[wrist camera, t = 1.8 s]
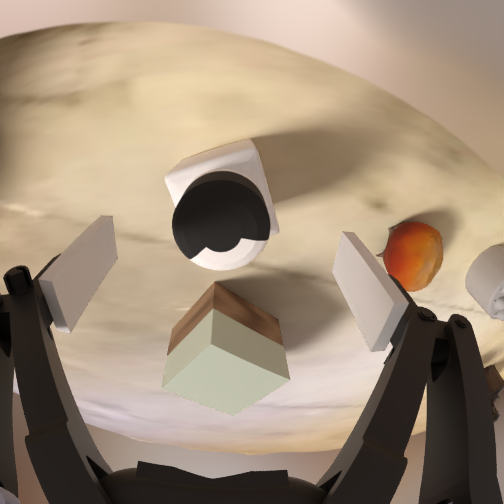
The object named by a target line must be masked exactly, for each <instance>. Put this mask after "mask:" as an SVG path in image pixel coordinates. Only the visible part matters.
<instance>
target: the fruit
mask: <svg viewBox="0 0 504 504" xmlns="http://www.w3.org/2000/svg"><path fill="white" fill-rule="evenodd" d="M388 229H389V228H388ZM378 257H383V261H384V264H385V267H386V269H387V272H388V274H390V275H392V276H393V277H394V278H396V279H397V280H398V281H399V282H400V283H401V285H402V286H403V287H404V289H405V290H406V291H409V292H410V291H412V292H415V291H418V290H421V289H423V288H425V287H427V286H428V284H429V283H431V281H432V279H433V277H434V276H435V275H436V273H437V272H438V271H439V269H440V267H441V264H442V261H443V246H442V237H441V235H440V233H439V231H438V230H436V229H434V228H433V227H431V226H429V225H427V224H424V223H419V222H403V223H402V224H399V225H398V226H396V227H394V228H390V229H389V238H388V242H387V246H386V248H385V250H384V252H383V253H382V254H381V255H378Z"/></svg>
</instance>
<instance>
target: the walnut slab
mask: <svg viewBox="0 0 504 504" xmlns="http://www.w3.org/2000/svg"><path fill="white" fill-rule="evenodd" d="M213 308H214V309H216V310H217V311H219V312H221V313H223V314H224V315H226V316H228V317H230V318H231V319H233V320H235V321H237V322H239V323H240V324H242V325H244V326H246V327H248V328H250V329H251V330H253V331H255V332H257V333H259V334H261V335H263V336H265V337H267V338H268V339H270V340H272V341H274V342H276V343H278V344H280V345H282V346H283V342H282V337H281V332H280V327H279V322H278V319H276V318H274V317H273V316H271V315H269V314H268V313H266V312H264V311H262V310H261V309H259V308H257V307H256V306H254V305H252V304H251V303H249V302H247V301H246V300H244V299H242V298H241V297H239V296H238V295H236V294H234V293H233V292H231V291H229V290H228V289H226V288H225V287H223V286H221V285H220V284H218V283H216V282H214V283H213V284H212V285H211V286H210V287H209V289H208V290H207V291H206V292H205V293H204V294H203V295H202V296H201V298H200V299H199V300H198V301H197V302H196V303H195V304H194V305H193V307H192V308H191V309H190V310H189V311H188V312H187V313H186V314H185V316H184V317H183V318H182V319H181V320H180V321H179V322H178V323H177V325H176V326H175V327H174V328H173V329H172V334H171V338H170V343H169V348H168V353H167V356H168V355H169V354H170V353H171V352H172V351H173V350H174V349H175V348H176V347H177V345H178V344H179V343H180V342H181V341H182V340H183V339H184V338H185V337H186V336H187V335H188V334H189V333H190V332H191V331H192V330H193V329H194V328H195V327H196V326H197V325H198V324H199V323H200V322H201V321H202V320H203V318H204V317H205V316H206V315H207V314H208V313H209V312H210V311H211V310H212V309H213Z"/></svg>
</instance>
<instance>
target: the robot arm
mask: <svg viewBox="0 0 504 504" xmlns="http://www.w3.org/2000/svg"><path fill="white" fill-rule="evenodd" d="M117 258H118V257H117V250H116V243H115V234H114V226H113V216H100V217H99V218H98V219H97V220H96V221H95V222H94V223H92V224H91V225H90V226H89V227H88V228H87V229H86V230H85V231H84V232H83V233H82V234H81V235H80V236H79V237H78V238H77V239H76V240H75V241H74V242H73V243H72V244H71V245H70V246H69V247H68V248H67V249H66V250H65V251H64V252H63V253H62V254H59V255H57V256H56V257H54V258H53V259H52V260H51V261H50V262H49V263H48V264H47V265H46V266H45V267H44V268H43V270H41V271H40V272H39V273H38V275H37V276H36V277H35V278H34V279H33V280H32V278H31V275H30V272H29V269H28V267H26V266H16V267H14V268H11V269H10V270H9V271H7V272H6V273H5V275H4V277H3V279H4V282H5V285H6V287H7V290H8V292H9V294H6V295H1V294H0V504H21V503H20V501H19V500H18V482H17V474H16V464H15V456H14V445H13V426H12V398H13V379H14V367H15V372H16V378H17V383H18V388H19V393H20V398H21V402H22V406H23V410H24V415H25V418H26V422H27V425H28V429H29V435H28V436H26V437H25V443H26V447H27V451H28V454H29V456H30V459H31V462H32V465H33V468H34V470H35V473H36V475H37V478H38V480H39V482H40V485H41V487H42V489H43V492H44V494H45V496H46V498H47V500H48V502H49V504H390V502H391V500H392V498H393V496H394V494H395V492H396V489H397V487H398V485H399V483H400V481H401V478H402V476H403V474H404V471H405V469H406V466H407V458H405V457H404V452H405V449H406V446H407V443H408V441H409V438H410V436H411V433H412V430H413V427H414V424H415V421H416V418H417V414H418V411H419V408H420V404H421V401H422V397H423V394H424V390H425V386H426V384H427V425H426V444H425V456H424V466H423V474H422V482H421V488H420V496H419V504H503V501H502V497H501V492H500V487H499V483H498V479H497V468H496V467H497V464H496V443H495V432H494V423H493V415H492V408H491V402H490V396H489V391H488V386H487V381H486V376H485V372H484V367H483V363H482V359H481V356H480V352H479V348H478V345H477V341H476V338H475V335H474V331H473V328H472V325H471V323H470V322H469V321H468V320H467V318H465V317H464V316H461V315H459V314H453V315H451V317H450V318H449V320H448V322H444V321H439V320H437V317H436V315H435V314H434V313H433V312H432V311H431V310H429V309H427V308H424V307H418V306H417V305H416V303H415V302H414V301H413V299H412V298H411V297H410V295H409V294H408V293H407V292H406V290H405V289H404V287H403V286H402V285H401V283H400V282H399V281H398V280H397V279H396V278H394V277H393V276H392V275H390V274H387V273H386V271H385V270H384V269H383V268H382V266H381V265H380V264H379V262H378V261H377V260H376V259H375V257H374V256H373V255H372V254H371V252H370V251H369V250H368V249H367V248H366V246H365V245H364V244H363V243H362V241H361V240H360V239H359V238H358V237H357V235H356V234H355V233H353V232H344V231H342V235H341V239H340V243H339V247H338V251H337V254H336V258H335V262H334V266H333V269H332V274H333V276H334V278H335V280H336V282H337V283H338V285H339V287H340V289H341V291H342V293H343V295H344V297H345V299H346V301H347V303H348V305H349V307H350V310H351V312H352V314H353V316H354V318H355V320H356V322H357V324H358V326H359V328H360V330H361V332H362V335H363V337H364V339H365V341H366V343H367V345H368V348H369V350H370V352H375V351H385V349H386V347H387V345H388V343H389V342H391V344H392V346H393V348H392V350H391V352H390V353H389V355H388V357H387V358H386V360H385V362H384V363H383V364H385V366H384V368H383V370H382V373H381V375H380V377H379V379H378V382H377V384H376V386H375V388H374V390H373V392H372V394H371V396H370V398H369V400H368V402H367V404H366V406H365V408H364V410H363V412H362V414H361V416H360V418H359V420H358V422H357V424H356V425H355V427H354V429H353V431H352V432H351V434H350V436H349V438H348V439H347V441H346V443H345V444H344V446H343V448H342V449H341V451H340V453H339V454H338V456H337V457H336V459H335V461H334V462H333V464H332V465H331V467H330V468H329V469H328V471H327V472H326V473H325V474H324V475H323V477H322V478H321V479H320V480H319V481H318V483H317V484H316V485H314V484H312V483H310V482H307V481H304V480H301V479H298V478H294V477H288V473H287V470H277V471H250V472H246V473H242V474H237V475H232V476H227V477H221V478H215V479H211V478H206V477H203V476H199V475H196V474H193V473H190V472H187V471H184V470H181V469H178V468H175V467H172V466H165V465H158V464H152V463H147V462H142V461H138V465H137V468H129V469H123V470H119V471H116V472H113V471H112V470H111V468H110V467H109V466H108V464H107V463H106V462H105V460H104V459H103V458H102V456H101V454H100V453H99V451H98V449H97V447H96V445H95V443H94V441H93V439H92V437H91V435H90V434H89V431H88V429H87V427H86V425H85V423H84V421H83V418H82V416H81V414H80V412H79V409H78V407H77V405H76V402H75V400H74V397H73V395H72V392H71V390H70V387H69V384H68V382H67V379H66V376H65V373H64V370H63V367H62V364H61V361H60V358H59V355H58V352H57V348H56V345H55V341H54V338H53V334H52V331H51V329H50V325H51V323H52V322H53V321H54V324H55V326H56V328H57V331H61V332H65V333H70V334H71V332H72V330H73V328H74V327H75V325H76V323H77V321H78V320H79V318H80V316H81V315H82V313H83V311H84V310H85V308H86V306H87V305H88V303H89V301H90V300H91V298H92V296H93V295H94V293H95V292H96V290H97V289H98V287H99V285H100V284H101V282H102V281H103V279H104V278H105V276H106V275H107V273H108V272H109V270H110V269H111V267H112V266H113V264H114V263H115V261H116V260H117Z"/></svg>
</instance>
